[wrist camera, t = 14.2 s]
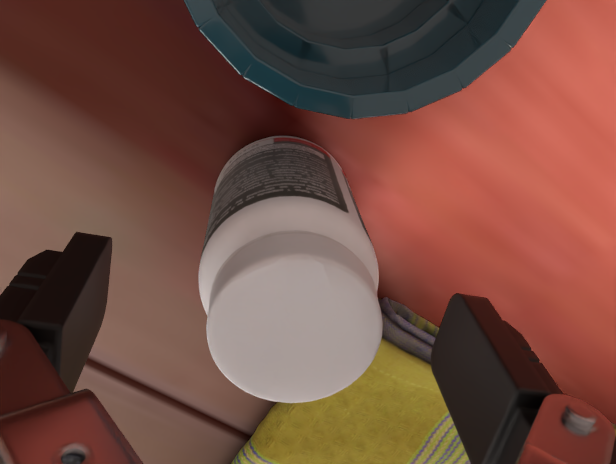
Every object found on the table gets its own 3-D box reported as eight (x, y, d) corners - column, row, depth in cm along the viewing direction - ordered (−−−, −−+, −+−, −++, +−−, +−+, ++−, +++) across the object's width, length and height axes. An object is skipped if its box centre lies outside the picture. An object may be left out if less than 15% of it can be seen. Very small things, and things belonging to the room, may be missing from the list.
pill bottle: (186, 196, 20) (139, 334, 13) (285, 103, 19) (298, 195, 12) (279, 281, 22) (287, 448, 15) (376, 201, 21) (439, 336, 13)
